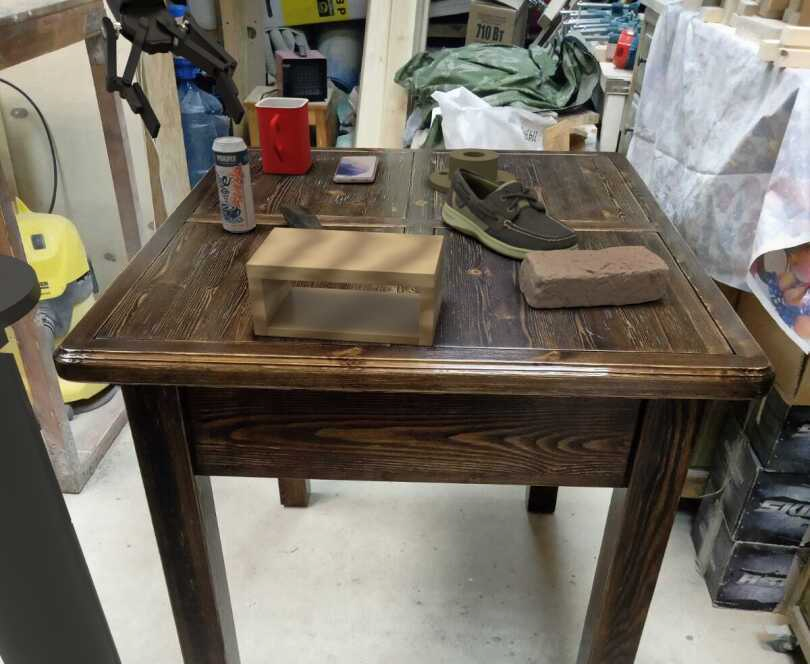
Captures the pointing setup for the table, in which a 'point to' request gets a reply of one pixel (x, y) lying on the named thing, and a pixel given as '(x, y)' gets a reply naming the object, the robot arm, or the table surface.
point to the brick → (592, 277)
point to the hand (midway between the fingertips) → (199, 125)
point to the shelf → (347, 263)
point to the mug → (284, 135)
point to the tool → (299, 217)
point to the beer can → (234, 184)
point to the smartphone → (356, 169)
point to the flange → (470, 167)
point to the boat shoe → (503, 216)
